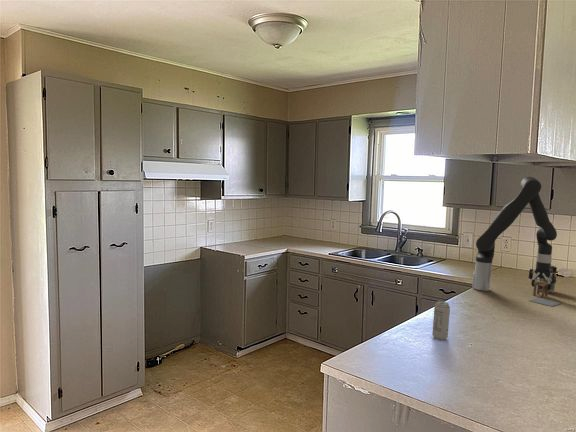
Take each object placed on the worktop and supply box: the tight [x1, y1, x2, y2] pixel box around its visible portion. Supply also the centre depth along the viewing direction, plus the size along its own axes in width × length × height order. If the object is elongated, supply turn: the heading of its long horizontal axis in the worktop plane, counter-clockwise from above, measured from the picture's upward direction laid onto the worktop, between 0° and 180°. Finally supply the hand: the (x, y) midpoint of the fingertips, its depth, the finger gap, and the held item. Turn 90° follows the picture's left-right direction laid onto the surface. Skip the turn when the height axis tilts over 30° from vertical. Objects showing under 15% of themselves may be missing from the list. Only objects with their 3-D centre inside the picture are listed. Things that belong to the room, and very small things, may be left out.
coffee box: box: [535, 265, 558, 294], centre depth 262 cm, size 9×6×16 cm
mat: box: [528, 297, 562, 308], centre depth 236 cm, size 12×12×1 cm
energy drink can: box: [431, 300, 451, 341], centre depth 174 cm, size 6×6×15 cm
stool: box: [532, 281, 549, 298], centre depth 250 cm, size 6×6×8 cm
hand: (541, 288), depth 250 cm, fingers open, 8 cm apart
